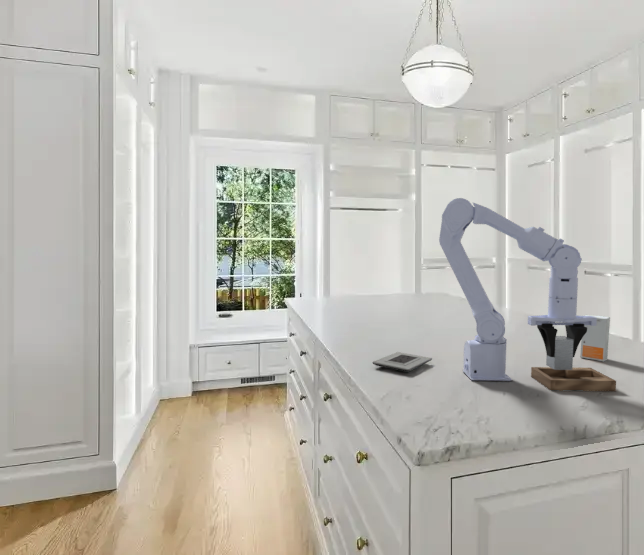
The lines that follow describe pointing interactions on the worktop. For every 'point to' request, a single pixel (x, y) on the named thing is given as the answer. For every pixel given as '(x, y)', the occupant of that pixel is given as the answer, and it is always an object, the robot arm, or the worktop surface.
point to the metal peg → (561, 354)
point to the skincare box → (596, 340)
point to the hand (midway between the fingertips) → (560, 356)
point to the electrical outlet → (402, 361)
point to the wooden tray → (573, 379)
